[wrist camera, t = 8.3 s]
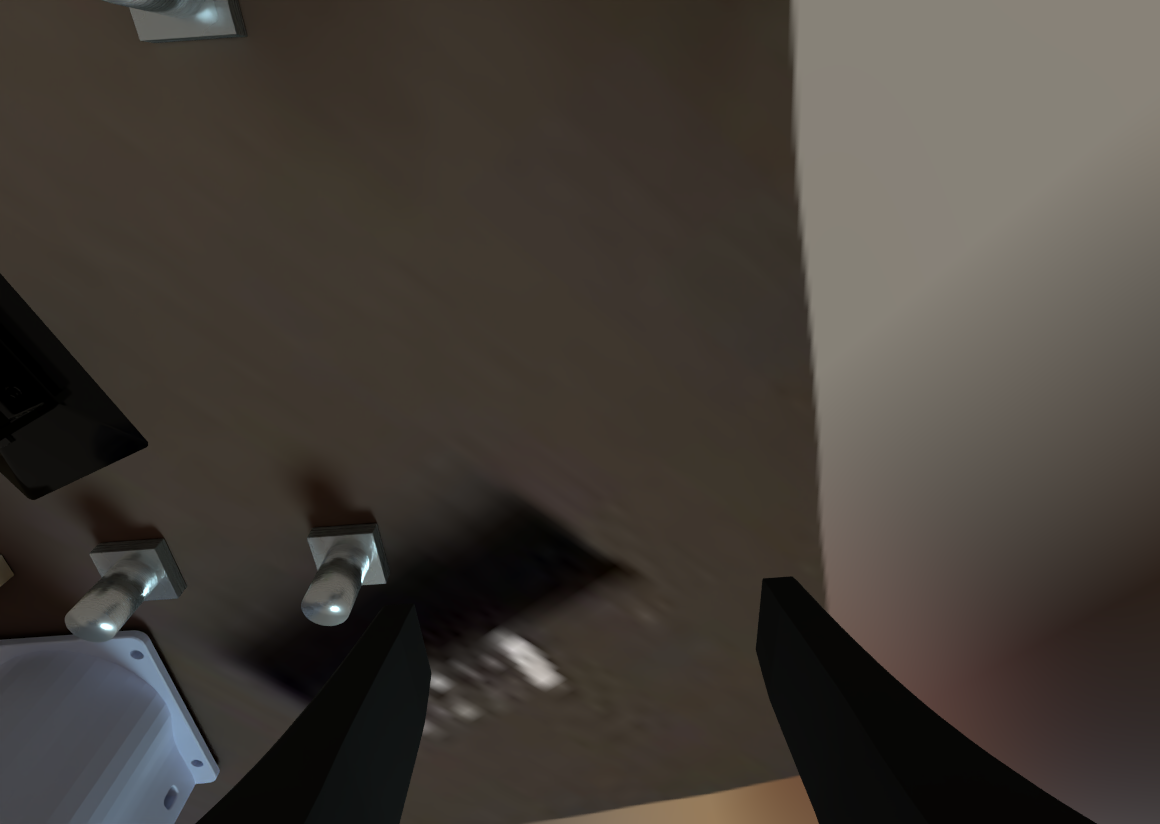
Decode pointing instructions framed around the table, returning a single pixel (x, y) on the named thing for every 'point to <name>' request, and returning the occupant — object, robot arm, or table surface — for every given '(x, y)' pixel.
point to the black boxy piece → (51, 408)
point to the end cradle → (4, 571)
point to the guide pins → (146, 567)
